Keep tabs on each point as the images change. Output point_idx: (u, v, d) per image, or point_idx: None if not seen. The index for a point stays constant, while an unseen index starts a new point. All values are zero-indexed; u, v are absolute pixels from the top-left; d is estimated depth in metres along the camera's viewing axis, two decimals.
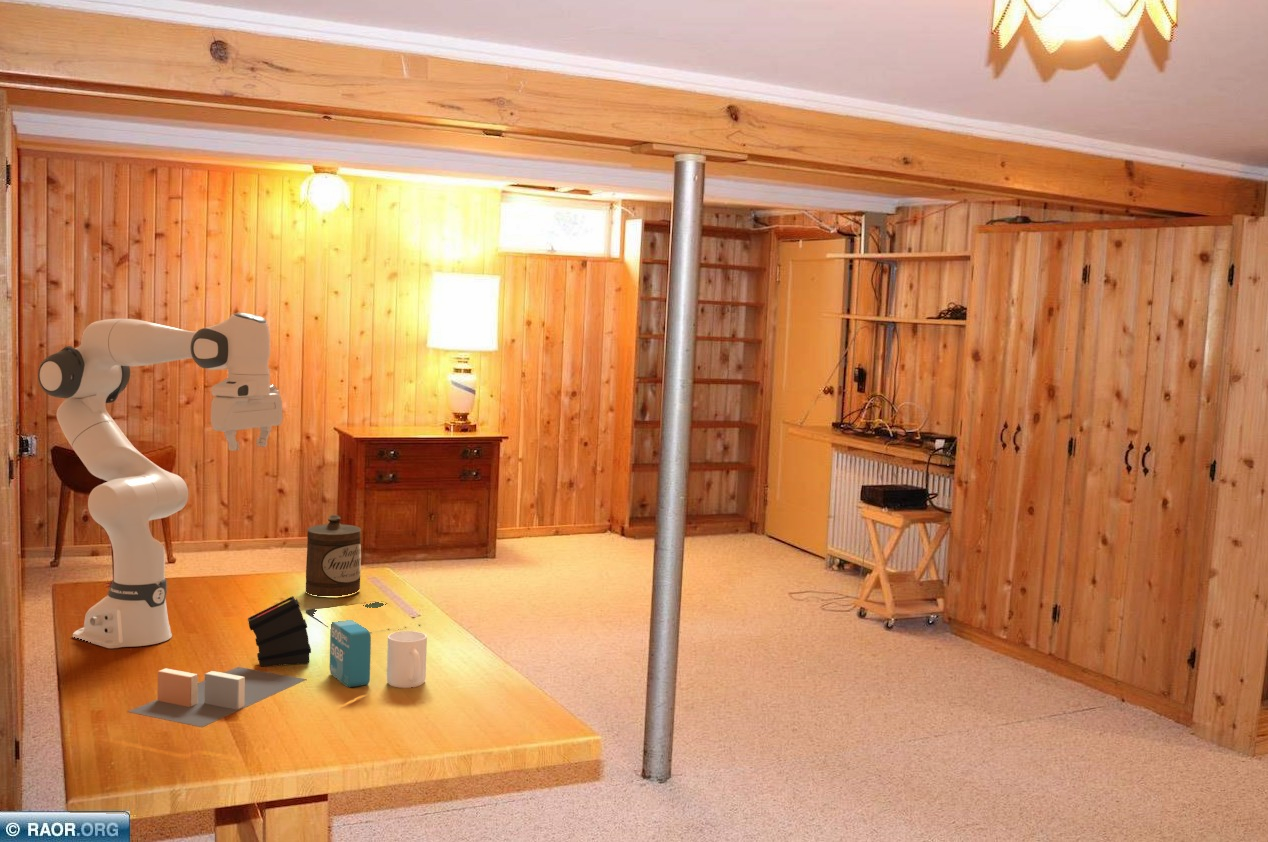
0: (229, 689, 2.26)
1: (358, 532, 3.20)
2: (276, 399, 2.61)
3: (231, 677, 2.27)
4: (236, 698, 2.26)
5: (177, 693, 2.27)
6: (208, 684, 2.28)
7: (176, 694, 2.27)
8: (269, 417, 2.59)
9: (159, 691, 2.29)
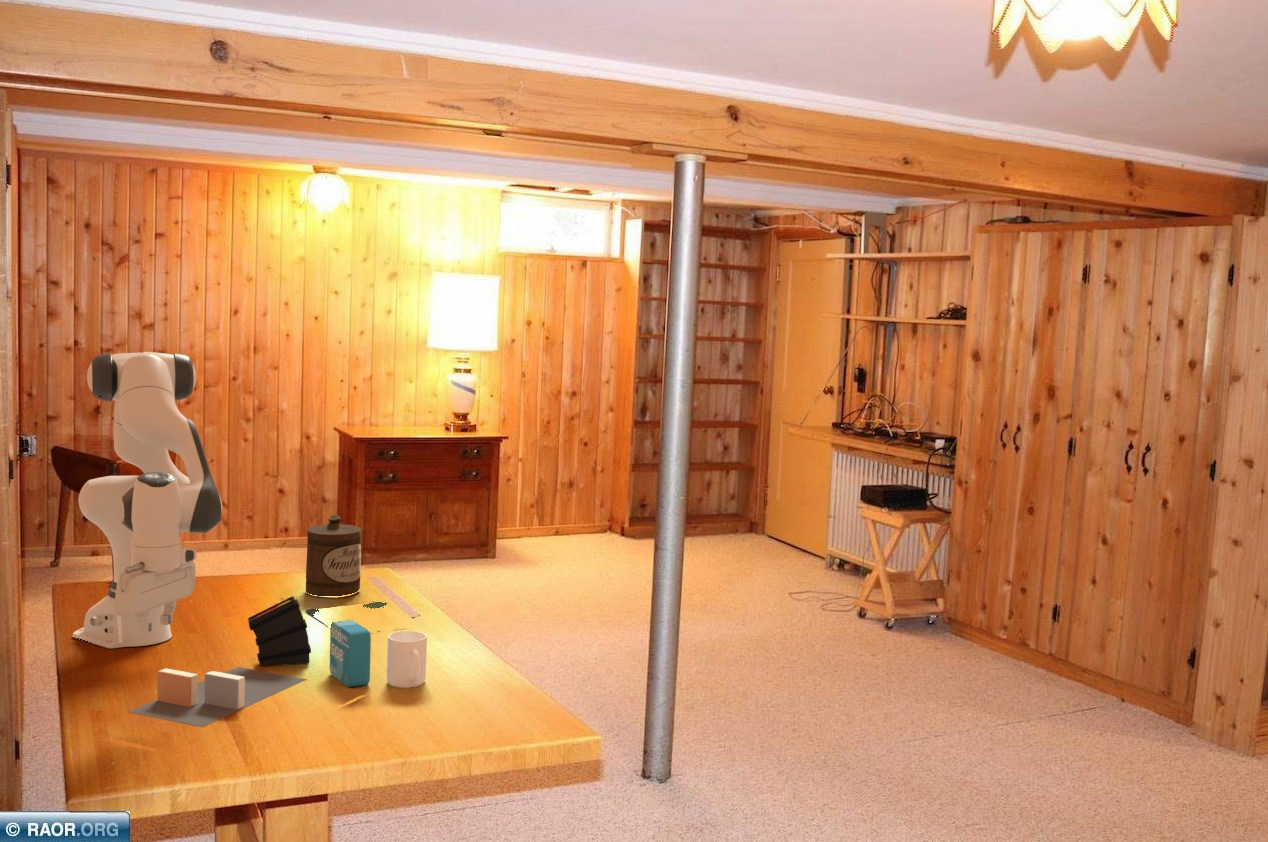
0: (229, 689, 2.26)
1: (358, 532, 3.20)
2: None
3: (231, 677, 2.27)
4: (236, 698, 2.26)
5: (177, 693, 2.27)
6: (208, 684, 2.28)
7: (176, 694, 2.27)
8: None
9: (159, 691, 2.29)
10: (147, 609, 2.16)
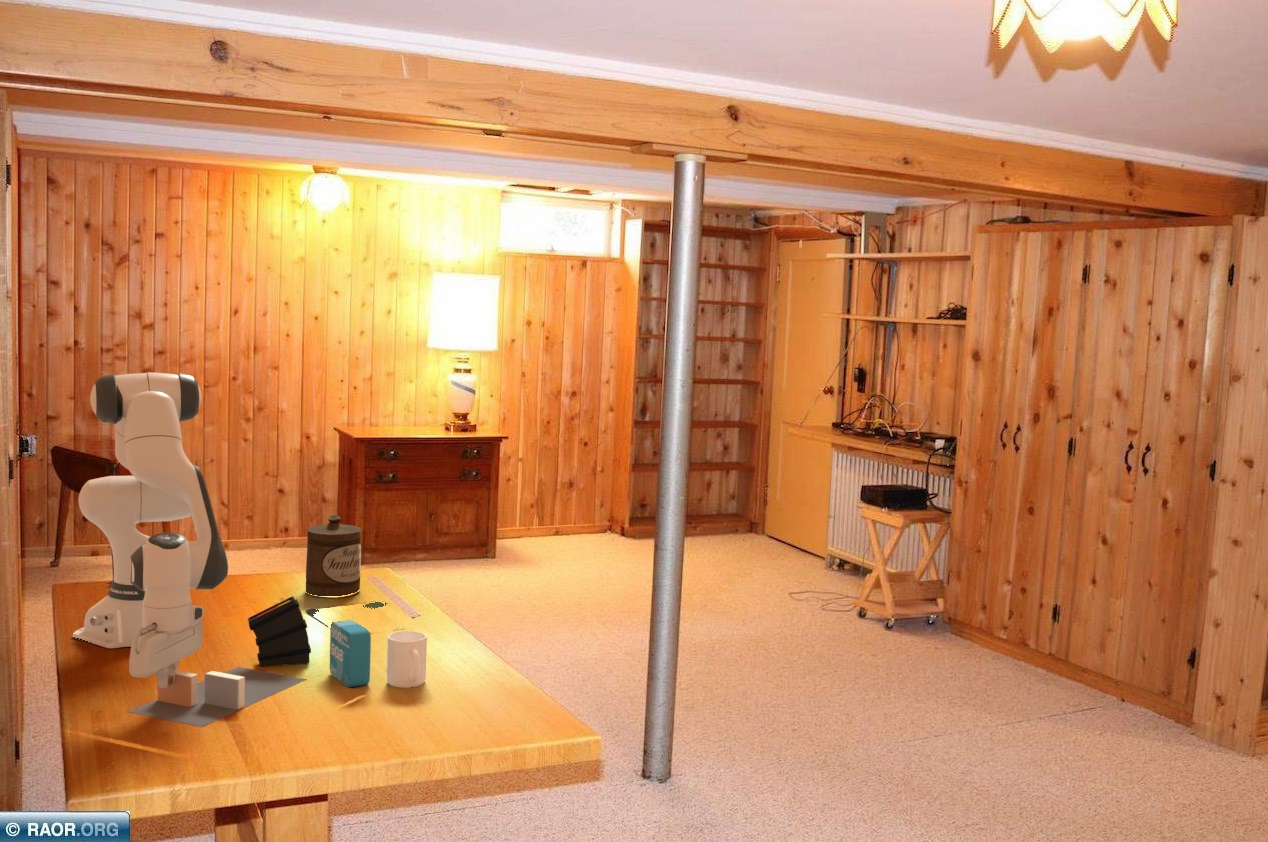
0: (229, 689, 2.26)
1: (358, 532, 3.20)
2: None
3: (231, 677, 2.27)
4: (236, 698, 2.26)
5: (177, 693, 2.27)
6: (208, 684, 2.28)
7: (176, 694, 2.27)
8: None
9: (159, 691, 2.29)
10: (160, 669, 2.20)
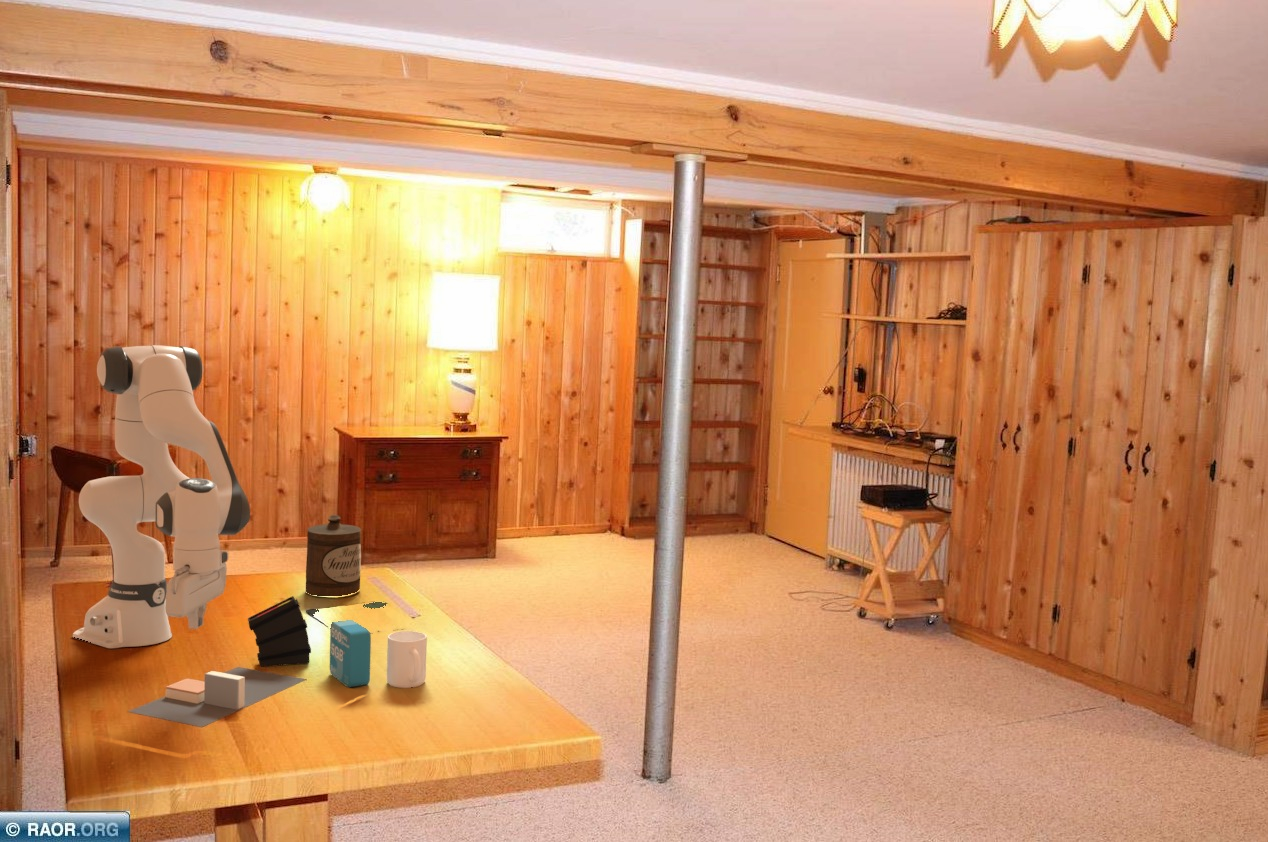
0: (229, 689, 2.26)
1: (358, 532, 3.20)
2: None
3: (231, 677, 2.27)
4: (236, 698, 2.26)
5: (193, 687, 2.31)
6: (208, 684, 2.28)
7: (191, 687, 2.31)
8: None
9: (174, 684, 2.32)
10: (193, 609, 2.26)
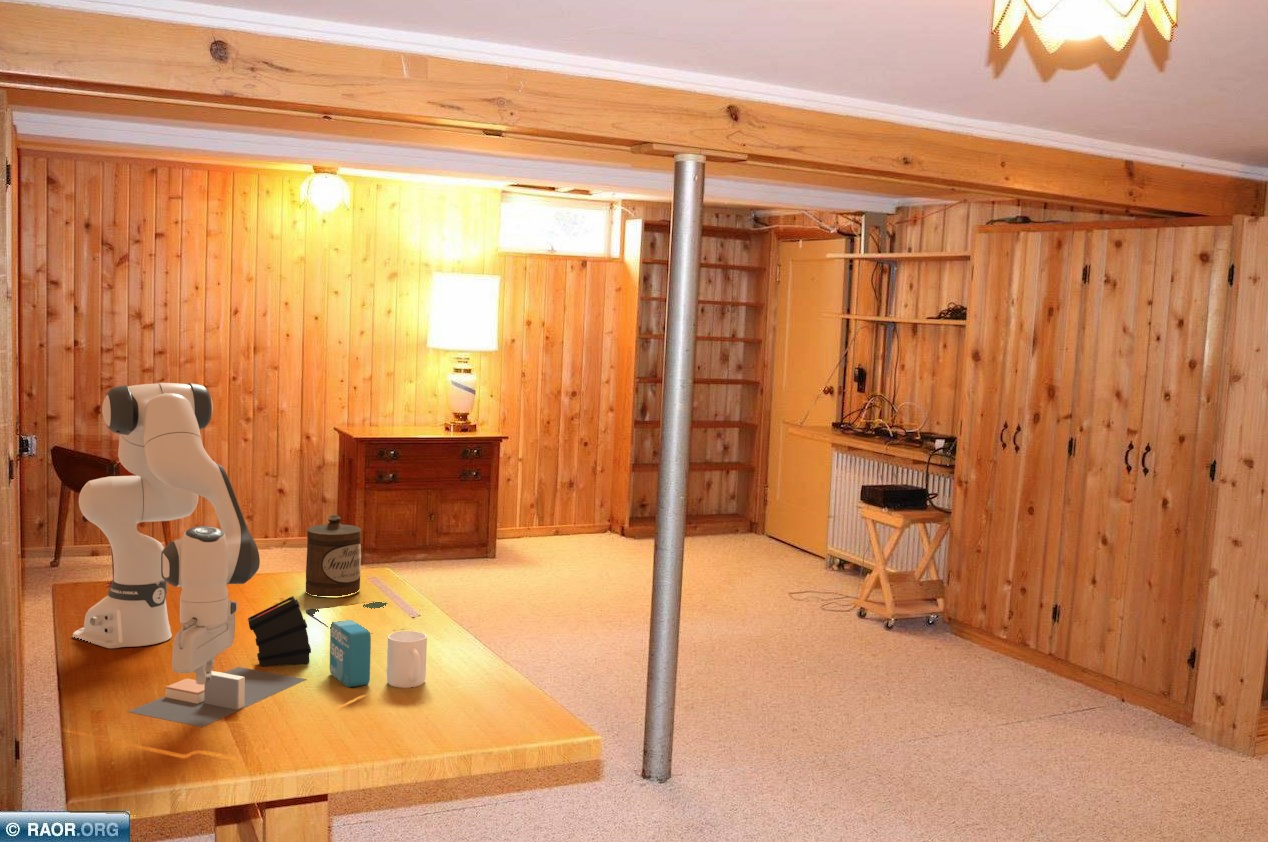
0: (229, 689, 2.26)
1: (358, 532, 3.20)
2: None
3: (231, 677, 2.27)
4: (236, 698, 2.26)
5: (193, 687, 2.31)
6: (208, 684, 2.28)
7: (191, 687, 2.31)
8: None
9: (174, 684, 2.32)
10: (201, 664, 2.16)
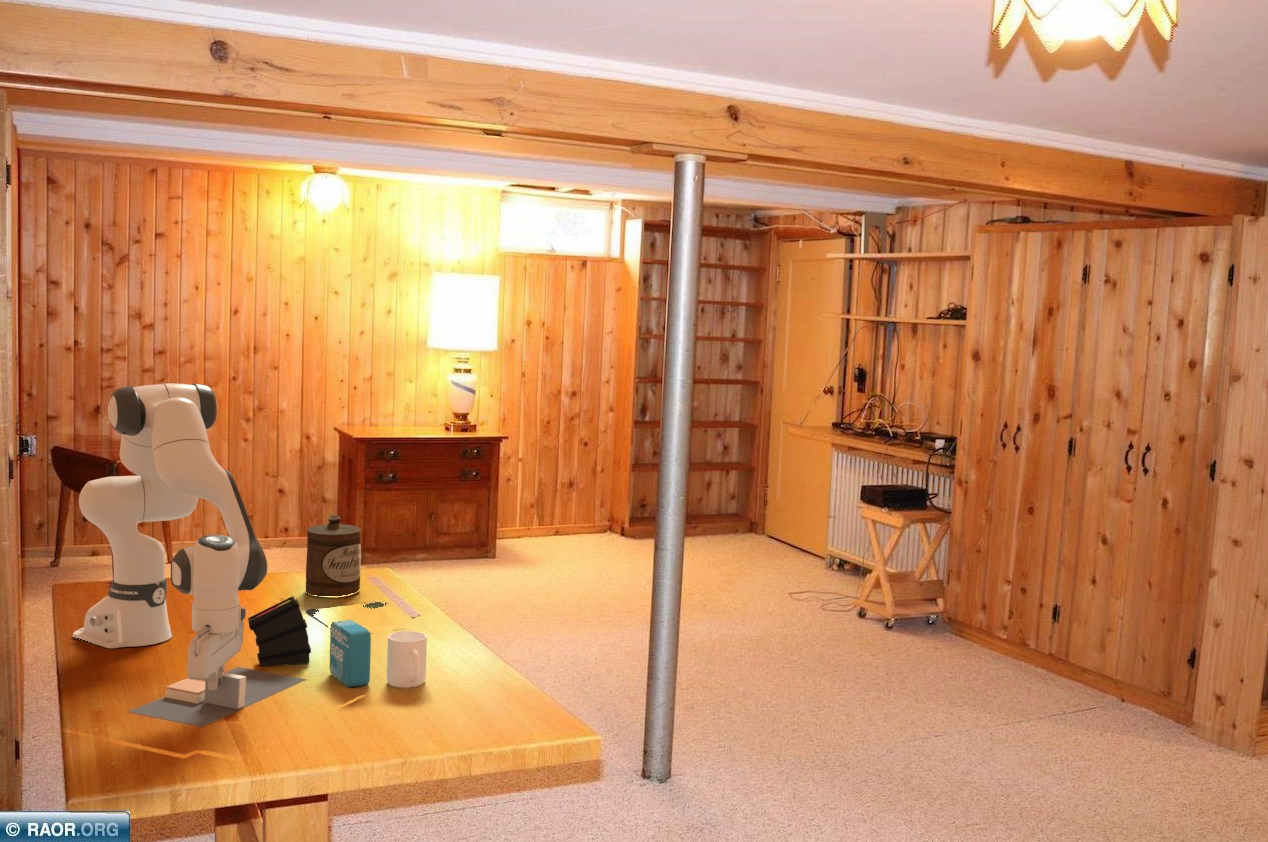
0: (230, 688, 2.26)
1: (358, 532, 3.20)
2: None
3: (232, 676, 2.27)
4: (236, 697, 2.26)
5: (193, 687, 2.31)
6: None
7: (191, 687, 2.31)
8: None
9: (174, 684, 2.32)
10: (214, 670, 2.20)
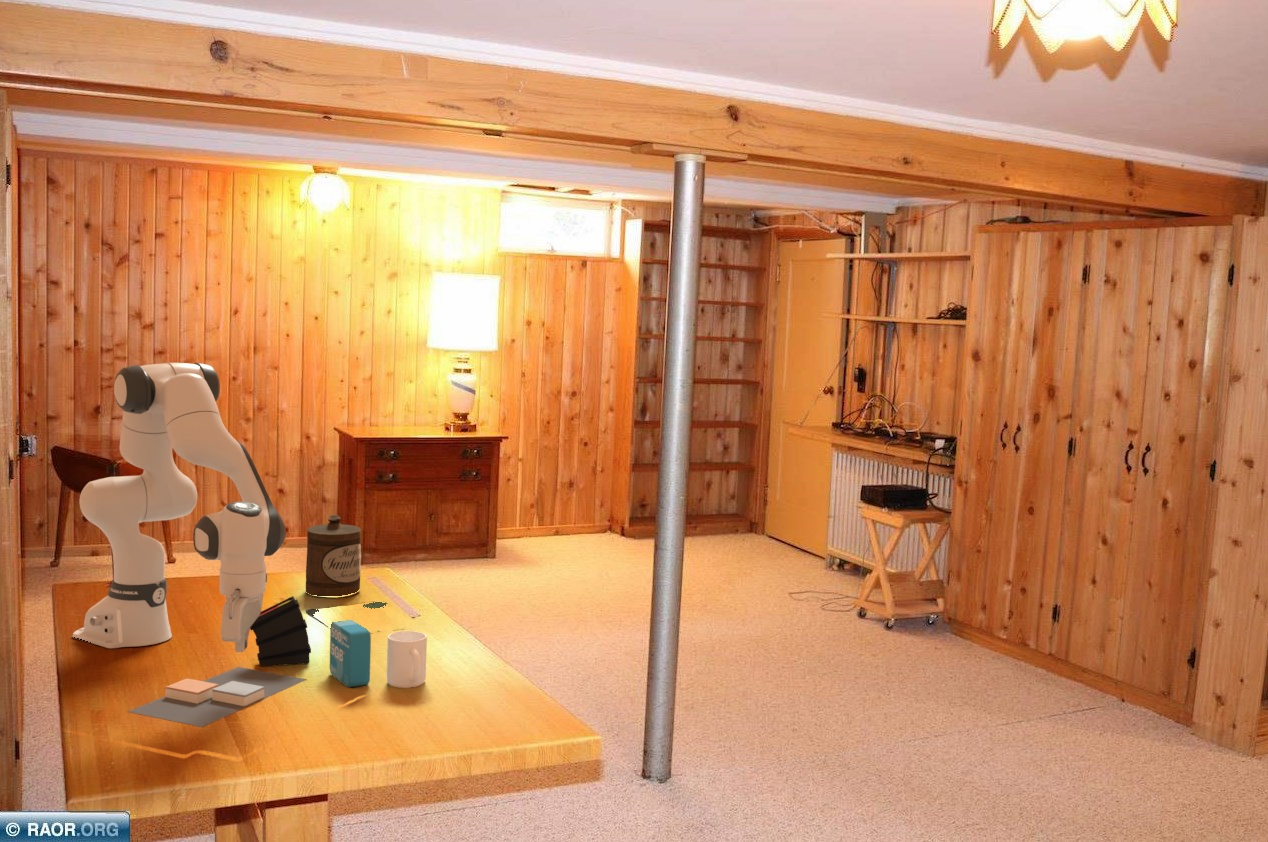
0: (249, 688, 2.32)
1: (358, 532, 3.20)
2: None
3: None
4: (251, 692, 2.30)
5: (193, 687, 2.31)
6: (229, 684, 2.34)
7: (191, 687, 2.31)
8: None
9: (174, 684, 2.32)
10: (245, 633, 2.27)
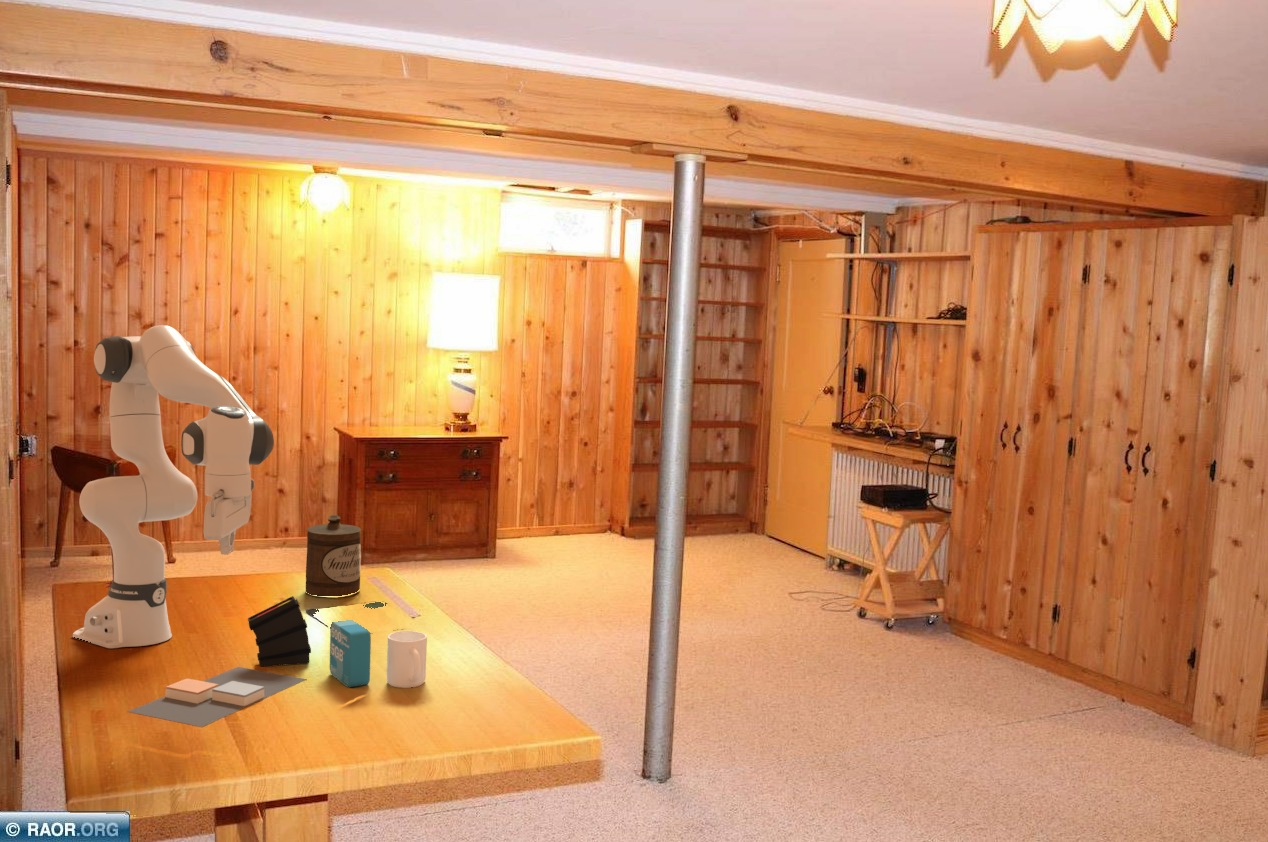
0: (249, 688, 2.32)
1: (358, 532, 3.20)
2: None
3: None
4: (251, 692, 2.30)
5: (193, 687, 2.31)
6: (229, 684, 2.34)
7: (191, 687, 2.31)
8: None
9: (174, 684, 2.32)
10: (228, 533, 2.30)
